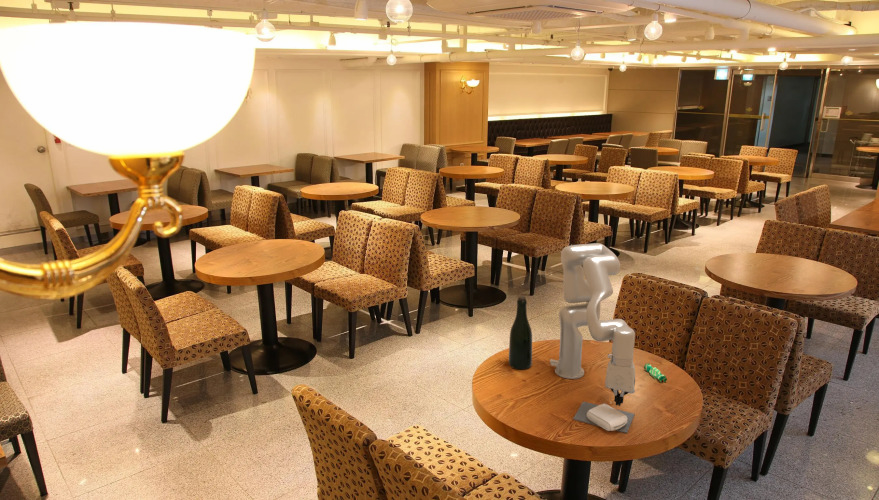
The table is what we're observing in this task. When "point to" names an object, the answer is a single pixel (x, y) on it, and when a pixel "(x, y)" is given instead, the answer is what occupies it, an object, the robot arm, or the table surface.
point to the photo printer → (607, 417)
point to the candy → (655, 373)
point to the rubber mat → (582, 417)
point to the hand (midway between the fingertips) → (618, 403)
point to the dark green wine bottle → (520, 338)
